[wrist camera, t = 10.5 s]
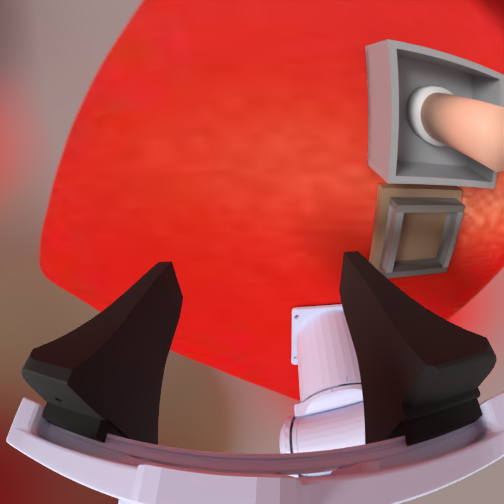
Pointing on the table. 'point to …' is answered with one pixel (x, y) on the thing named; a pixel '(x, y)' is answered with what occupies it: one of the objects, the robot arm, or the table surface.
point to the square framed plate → (415, 228)
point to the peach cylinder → (458, 124)
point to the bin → (395, 120)
